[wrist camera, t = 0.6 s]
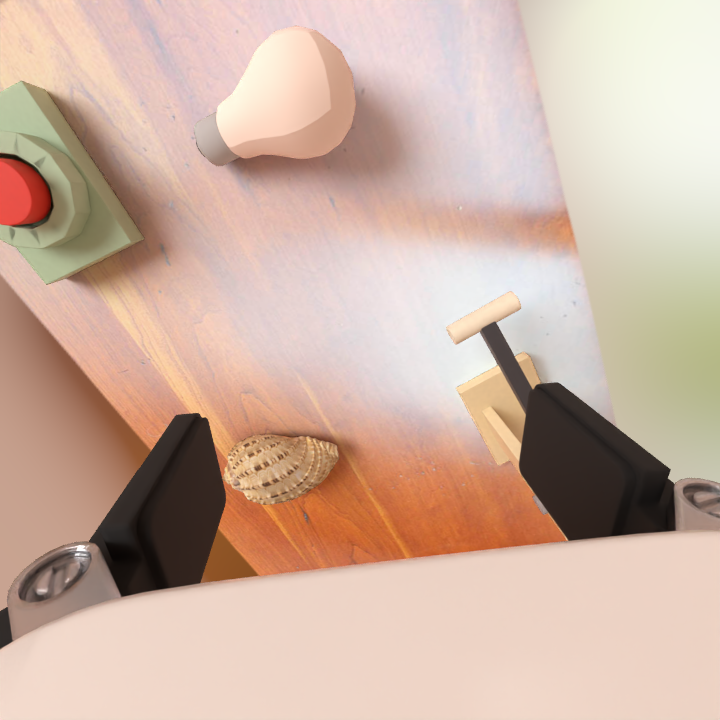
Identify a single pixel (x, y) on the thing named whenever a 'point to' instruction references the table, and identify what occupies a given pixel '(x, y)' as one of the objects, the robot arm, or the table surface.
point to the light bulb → (283, 102)
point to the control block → (60, 190)
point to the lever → (495, 340)
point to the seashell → (278, 466)
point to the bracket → (500, 413)
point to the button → (22, 194)
